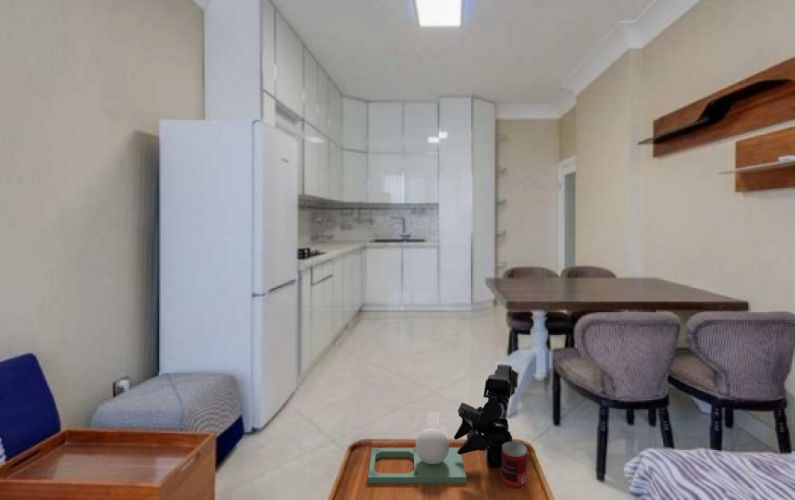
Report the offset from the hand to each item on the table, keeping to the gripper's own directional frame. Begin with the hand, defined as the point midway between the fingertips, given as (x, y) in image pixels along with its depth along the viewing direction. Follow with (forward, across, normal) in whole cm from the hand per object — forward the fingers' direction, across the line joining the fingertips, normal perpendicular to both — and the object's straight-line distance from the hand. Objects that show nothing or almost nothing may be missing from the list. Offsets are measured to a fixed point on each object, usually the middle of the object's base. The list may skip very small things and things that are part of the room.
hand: (456, 445), depth 149 cm
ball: (+6, 0, -6) cm, 8 cm away
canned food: (-6, +8, +18) cm, 20 cm away
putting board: (+15, 0, -4) cm, 15 cm away
